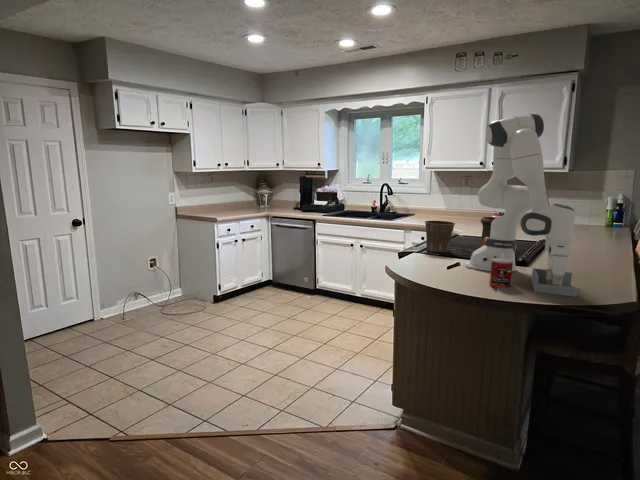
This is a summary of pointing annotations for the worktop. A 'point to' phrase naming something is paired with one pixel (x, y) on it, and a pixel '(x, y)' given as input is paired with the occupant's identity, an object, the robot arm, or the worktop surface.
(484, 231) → the vessel
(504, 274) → the canned food
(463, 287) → the worktop surface
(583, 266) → the worktop surface
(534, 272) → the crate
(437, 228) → the plant pot
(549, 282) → the birch block
